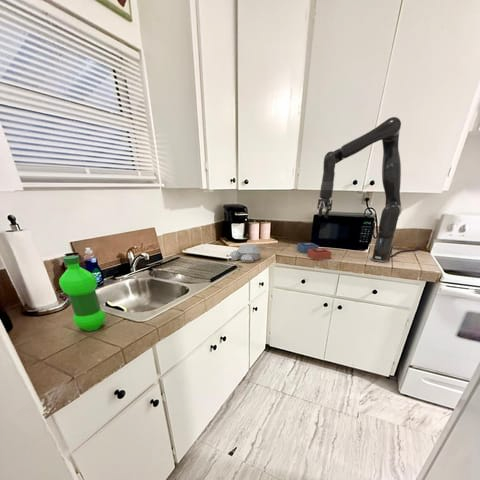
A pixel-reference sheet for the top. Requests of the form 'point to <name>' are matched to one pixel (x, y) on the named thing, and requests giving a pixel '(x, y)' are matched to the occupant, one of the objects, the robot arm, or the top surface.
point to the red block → (319, 250)
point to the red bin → (319, 254)
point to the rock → (246, 253)
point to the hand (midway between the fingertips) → (322, 217)
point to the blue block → (307, 244)
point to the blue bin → (305, 249)
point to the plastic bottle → (82, 294)
